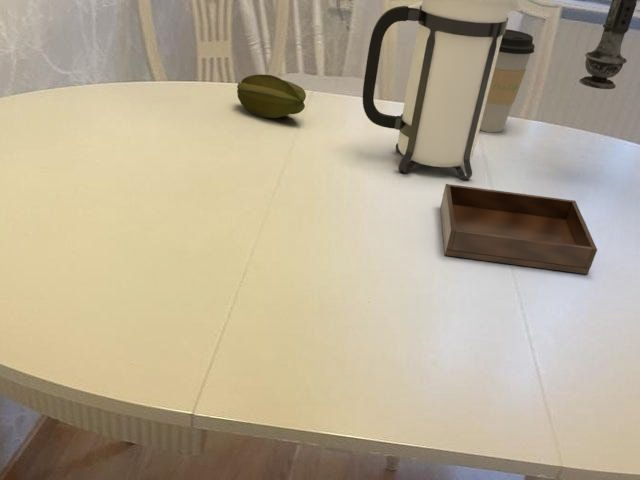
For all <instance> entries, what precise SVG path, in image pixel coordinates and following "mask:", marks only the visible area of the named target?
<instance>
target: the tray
mask: <svg viewBox="0 0 640 480" xmlns="http://www.w3.org/2000/svg"><path fill="white" fill-rule="evenodd" d="M440 215H441V228H442V237H443V248H444V249H443V250H444V256H449V257H456V258H464V259H469V260H477V261H478V260H479V261H486V262H494V263H500V264H507V265H516V266H524V267H531V268H538V269H545V270H553V271H560V272H568V273H574V274H583V275H589V272H590V270H591V267H592V265H593V262H594V259H595V257H596V255H597V252H598V248H597V246H596V243H595V241H594V239H593V237H592V234H591V232H590V230H589V228H588V226H587V224H586V221H585V219H584V217H583V214H582V212H581V210H580V208H579V206H578V203H577V201H576V200H573V199H565V198H557V197H549V196H544V195H543V196H542V195H534V194H527V193H519V192H511V191H503V190H496V189H488V188H481V187H474V186H466V185H465V186H464V185H457V184H450V183H445V186H444V189H443V193H442V199H441V203H440Z"/></svg>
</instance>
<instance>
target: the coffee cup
mask: <svg viewBox="0 0 640 480" xmlns="http://www.w3.org/2000/svg"><path fill="white" fill-rule="evenodd" d="M533 41H534V36H533V35H531V34H530V33H526V32H524V31H519V30H514V29H507V28H506V31H505V34H504V35H503V36H502V40H501V44H500V48H499V52H498V56H497V60H496V64H495V68H494V73H493V77H492V81H491V85H490V89H489V93H488V97H487V101H486V105H485V109H484V113H483V117H482V121H481V125H480V129H479V131H481V132H485V133H499V132H502V131H503V130H504V128H505V125H506V123H507V120H508V117H509V114H510V112H511V110H512V106H513V104H514V103H515V100H516V98H517V95H518V92H519V90H520V87H521V84H522V81H523V79H524V75H525V74H526V70H527V69H526V68H527V65H528V62H529V60H530V57H531V55H532V54H533V53H535V48H536V46H535V44H534V43H533Z"/></svg>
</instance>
